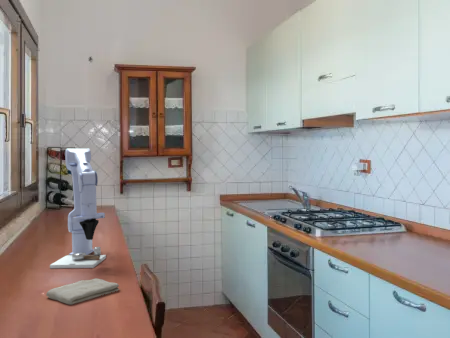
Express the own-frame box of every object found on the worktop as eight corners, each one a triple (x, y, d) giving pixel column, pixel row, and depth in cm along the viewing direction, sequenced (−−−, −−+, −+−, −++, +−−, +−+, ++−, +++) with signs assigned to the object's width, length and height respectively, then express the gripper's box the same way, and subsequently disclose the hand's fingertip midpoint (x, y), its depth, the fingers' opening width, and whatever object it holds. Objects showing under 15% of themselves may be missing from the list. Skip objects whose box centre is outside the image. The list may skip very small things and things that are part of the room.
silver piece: (70, 260, 173) (70, 249, 173) (74, 257, 178) (74, 246, 178) (98, 259, 173) (98, 248, 173) (102, 256, 178) (102, 246, 178)
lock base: (66, 258, 184) (66, 255, 184) (106, 257, 183) (105, 254, 183) (49, 268, 168) (49, 264, 168) (93, 267, 167) (93, 264, 167)
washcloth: (121, 291, 139) (121, 281, 139) (69, 307, 125) (69, 296, 125) (97, 285, 147) (97, 275, 146) (45, 299, 132) (45, 289, 132)
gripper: (81, 206, 164) (82, 243, 165) (110, 201, 177) (111, 237, 177) (67, 205, 168) (68, 242, 168) (96, 201, 180) (97, 235, 181)
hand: (89, 239), depth 173 cm, fingers closed
